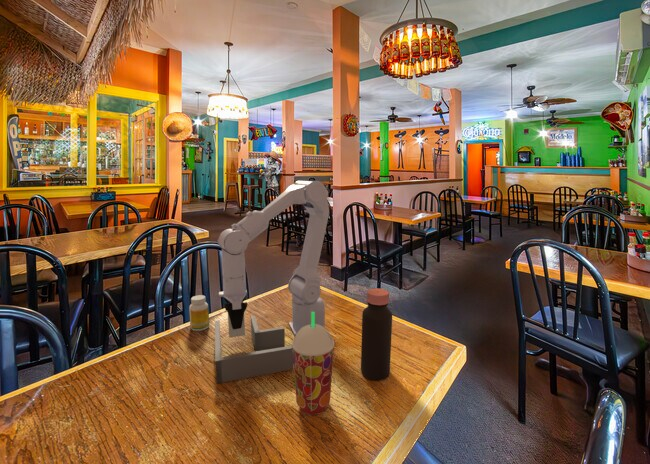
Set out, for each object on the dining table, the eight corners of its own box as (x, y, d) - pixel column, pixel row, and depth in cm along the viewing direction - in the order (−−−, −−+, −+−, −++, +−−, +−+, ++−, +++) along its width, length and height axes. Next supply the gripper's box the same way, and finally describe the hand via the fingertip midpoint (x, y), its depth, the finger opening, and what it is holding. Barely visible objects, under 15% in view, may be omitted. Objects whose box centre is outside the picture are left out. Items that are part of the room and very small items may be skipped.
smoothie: (292, 392, 70) (291, 304, 66) (331, 390, 71) (332, 303, 67) (292, 421, 62) (290, 323, 58) (336, 419, 63) (337, 321, 59)
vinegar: (387, 384, 73) (390, 299, 69) (357, 377, 75) (359, 295, 72) (391, 367, 79) (395, 288, 76) (364, 361, 82) (366, 285, 78)
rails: (277, 330, 98) (277, 312, 97) (293, 369, 78) (293, 348, 77) (215, 339, 92) (214, 321, 91) (216, 383, 73) (215, 361, 72)
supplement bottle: (188, 326, 100) (186, 296, 98) (205, 321, 103) (204, 292, 101) (194, 333, 96) (191, 302, 94) (212, 328, 99) (210, 297, 97)
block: (243, 328, 90) (242, 301, 89) (245, 335, 86) (243, 306, 85) (228, 330, 89) (227, 302, 88) (229, 337, 85) (227, 308, 84)
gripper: (217, 269, 90) (220, 315, 93) (218, 286, 77) (221, 339, 79) (243, 266, 93) (245, 312, 95) (248, 283, 79) (250, 335, 81)
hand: (236, 324), depth 87 cm, fingers closed on block, 4 cm apart
